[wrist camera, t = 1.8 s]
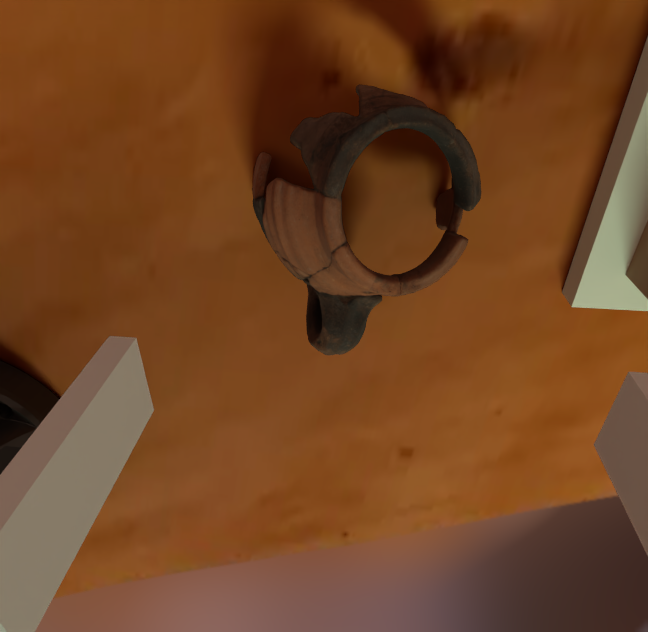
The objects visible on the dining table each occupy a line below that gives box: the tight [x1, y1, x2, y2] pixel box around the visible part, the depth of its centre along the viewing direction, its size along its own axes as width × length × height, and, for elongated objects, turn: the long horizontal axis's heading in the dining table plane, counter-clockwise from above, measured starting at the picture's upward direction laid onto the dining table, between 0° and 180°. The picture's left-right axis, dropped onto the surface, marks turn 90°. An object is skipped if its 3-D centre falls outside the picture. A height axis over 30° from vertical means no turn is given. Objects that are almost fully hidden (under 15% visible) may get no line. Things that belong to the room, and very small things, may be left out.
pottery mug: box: [252, 85, 481, 355], centre depth 23 cm, size 12×10×8 cm
